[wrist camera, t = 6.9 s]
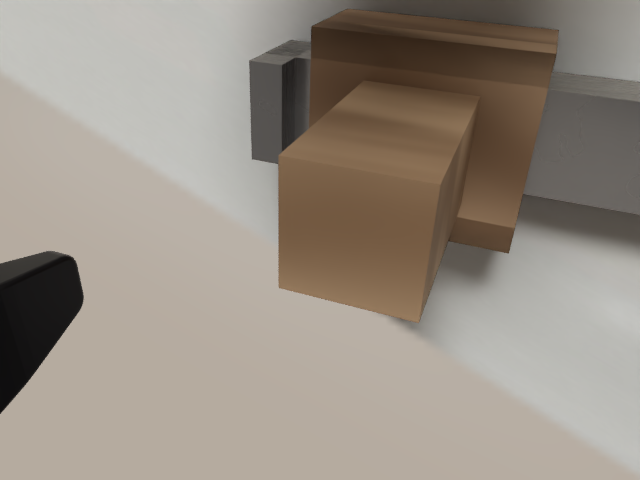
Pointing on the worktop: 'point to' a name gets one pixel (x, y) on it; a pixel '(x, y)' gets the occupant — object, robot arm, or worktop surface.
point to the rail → (551, 142)
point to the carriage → (407, 153)
